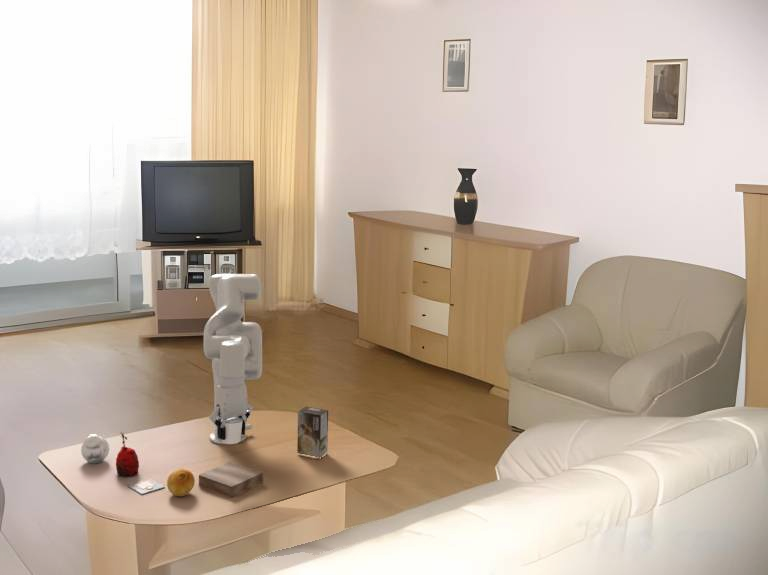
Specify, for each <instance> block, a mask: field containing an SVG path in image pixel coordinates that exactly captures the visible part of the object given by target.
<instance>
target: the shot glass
mask: <svg viewBox="0 0 768 575" xmlns="http://www.w3.org/2000/svg"><path fill="white" fill-rule="evenodd" d="M242 421H243V419H242V418H240V417H233V418H229V419H227V420H226V423H225V425H224V427H225V428H226V439H225V440H222V442H223V443H225V444H224V445H237V444H239V442H240V439H241V430H242ZM221 422H222V420H221ZM240 443H241V442H240Z"/></svg>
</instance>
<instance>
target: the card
mask: <svg viewBox="0 0 768 575" xmlns="http://www.w3.org/2000/svg"><path fill="white" fill-rule="evenodd" d="M127 487H128V488H129V487H130V489H131V490H133V491H134V492H136V493H137V494H139V495H141V496H143V495H146V494H149V493H153V492H156V491H160V490H163V489H165V485H162V484H161V483H159V482H157V481H156V480H154V479H151V478H149V479H146V480H143V481H142V480H141V481H139V482H135V483H132V484H129V485H128V484H127Z"/></svg>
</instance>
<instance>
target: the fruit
mask: <svg viewBox="0 0 768 575" xmlns="http://www.w3.org/2000/svg"><path fill="white" fill-rule="evenodd" d="M195 482H196V481H195V476H194V474H193V473H192V471H190V470H189V469H188V470H187V469H184V468H178V469H175V470H173V471H172V472H171V473H170V474H169V475H168V478H167V479H166V486H167V489H168V492H170V493H171V494H172V495H173V496H175V497H184V496H186V495H188V494H189V493H190V492H191V491H192V490H193V488H194V486H195Z"/></svg>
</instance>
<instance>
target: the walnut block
mask: <svg viewBox="0 0 768 575" xmlns="http://www.w3.org/2000/svg"><path fill="white" fill-rule="evenodd" d="M263 474H264V473H263V472H261V471H259V470H256V469H253V468H249V467H247V466H244V465H241V464H238V463H235V462H232V461H229V462H227V463H224V464H222V465H219V466H217V467H215V468H212V469H210V470H207V471H206V472H205V471H204V472H203V473H200V474H198V486H199V487H202V488H204V489H207V490H210V491H213V492H215V493H217V492H218V494H221V495H223V496H225V497H229V498H234V497H236V496H238V495H240V494H242V493H245V492H247V491H249V490H251V489H253V488H255V487H258V486H260V485H262V484H263V482H264V481H263V480H264V479H263V478H264V477H263V476H264V475H263Z"/></svg>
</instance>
